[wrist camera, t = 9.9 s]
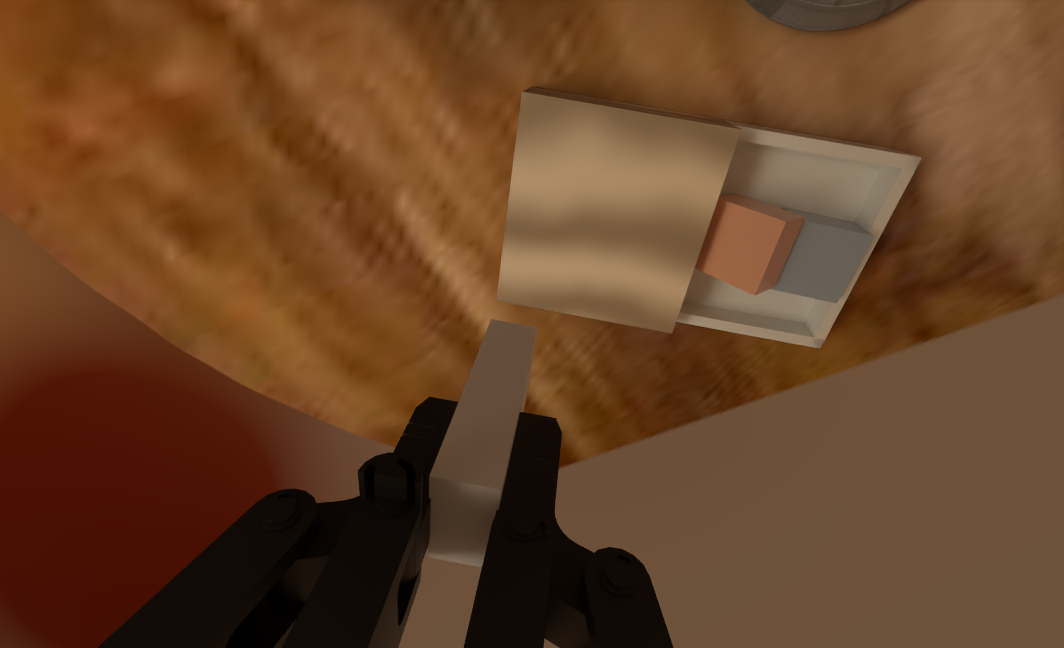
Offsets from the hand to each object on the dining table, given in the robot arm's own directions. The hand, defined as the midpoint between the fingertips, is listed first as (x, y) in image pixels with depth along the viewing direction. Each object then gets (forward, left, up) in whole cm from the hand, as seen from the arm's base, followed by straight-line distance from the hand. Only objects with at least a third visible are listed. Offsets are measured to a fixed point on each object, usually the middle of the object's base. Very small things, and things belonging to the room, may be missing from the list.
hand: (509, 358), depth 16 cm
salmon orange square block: (0, +14, -21) cm, 25 cm away
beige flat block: (0, +3, -23) cm, 23 cm away
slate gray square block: (+1, +18, -19) cm, 26 cm away
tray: (0, +16, -23) cm, 28 cm away
